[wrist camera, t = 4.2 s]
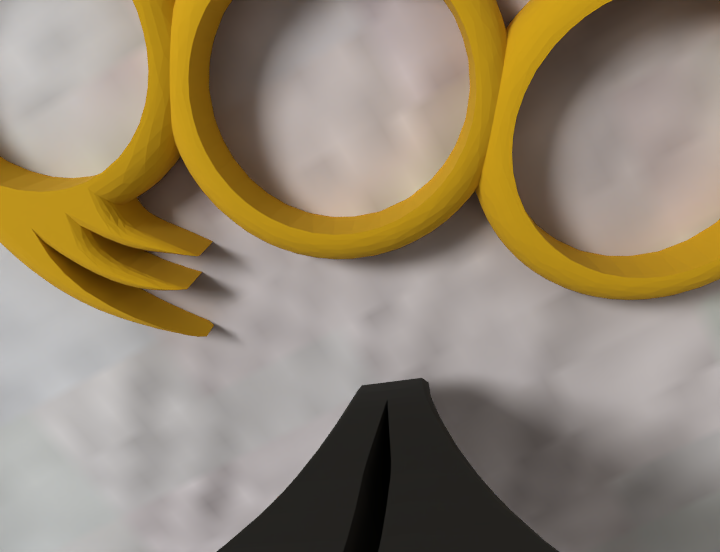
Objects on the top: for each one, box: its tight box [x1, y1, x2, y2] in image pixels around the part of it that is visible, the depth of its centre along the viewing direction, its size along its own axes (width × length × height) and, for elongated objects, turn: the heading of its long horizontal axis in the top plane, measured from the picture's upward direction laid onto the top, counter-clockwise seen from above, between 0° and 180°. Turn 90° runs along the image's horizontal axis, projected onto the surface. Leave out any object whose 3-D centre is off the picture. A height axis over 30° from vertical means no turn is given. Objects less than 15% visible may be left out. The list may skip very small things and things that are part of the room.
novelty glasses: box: [0, 0, 720, 337], centre depth 10 cm, size 17×2×10 cm
